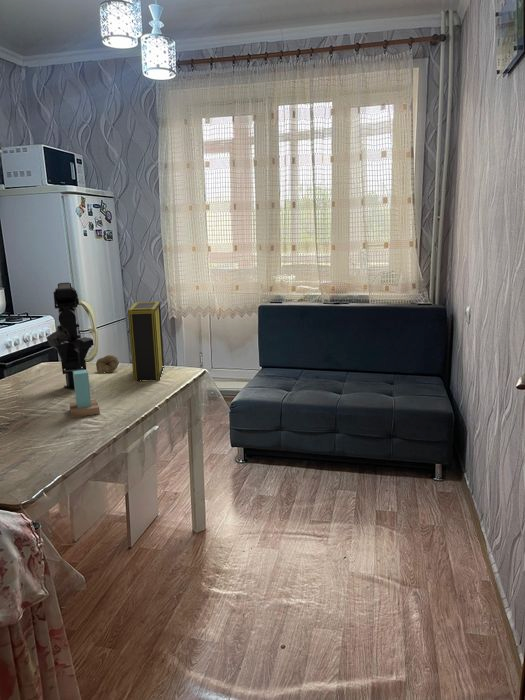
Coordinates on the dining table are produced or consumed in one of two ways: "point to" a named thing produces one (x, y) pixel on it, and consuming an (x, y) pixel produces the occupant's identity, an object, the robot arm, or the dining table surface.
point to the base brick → (84, 409)
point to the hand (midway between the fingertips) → (72, 363)
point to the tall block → (82, 388)
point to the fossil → (107, 364)
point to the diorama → (146, 340)
